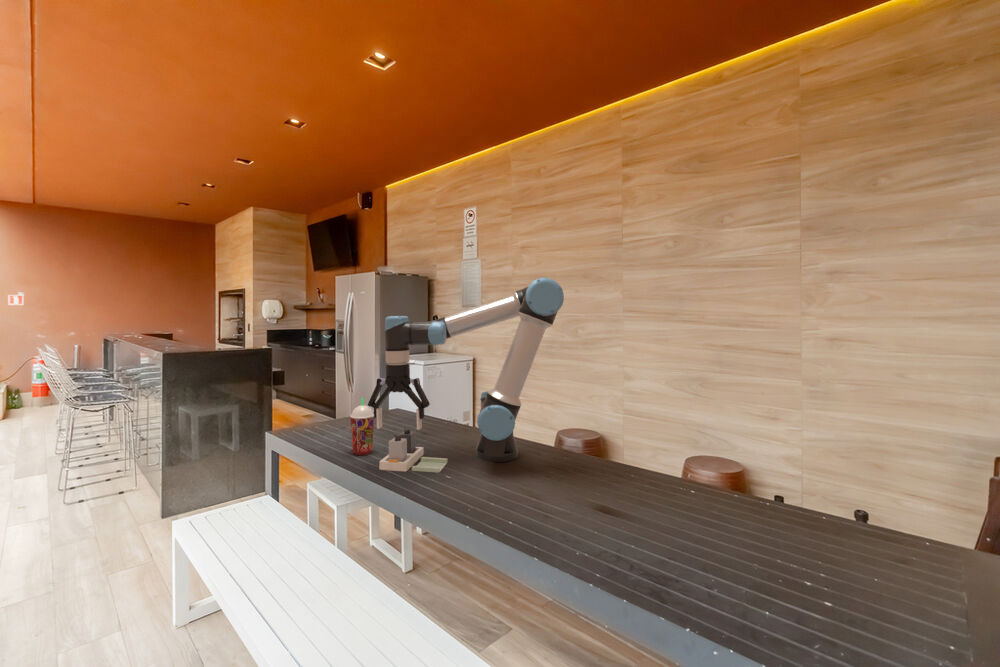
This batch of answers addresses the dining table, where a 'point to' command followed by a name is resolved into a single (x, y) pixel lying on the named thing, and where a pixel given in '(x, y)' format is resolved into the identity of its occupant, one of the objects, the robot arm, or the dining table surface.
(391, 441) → the plug
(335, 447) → the dining table surface
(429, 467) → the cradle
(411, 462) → the cream rectangular tray
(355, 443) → the smoothie
